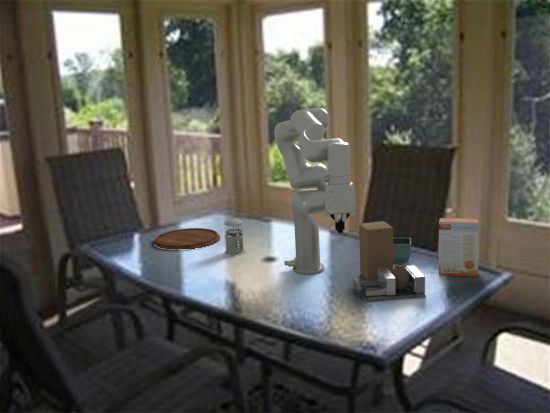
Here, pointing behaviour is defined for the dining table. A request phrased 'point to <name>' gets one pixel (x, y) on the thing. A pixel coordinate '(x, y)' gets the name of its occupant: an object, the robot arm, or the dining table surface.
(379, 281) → the sliding jaw
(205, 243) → the cutting board
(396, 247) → the flower pot
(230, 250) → the french press
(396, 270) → the vase
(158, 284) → the dining table surface
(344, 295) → the dining table surface
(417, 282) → the vise
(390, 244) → the wooden block
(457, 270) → the cracker box
